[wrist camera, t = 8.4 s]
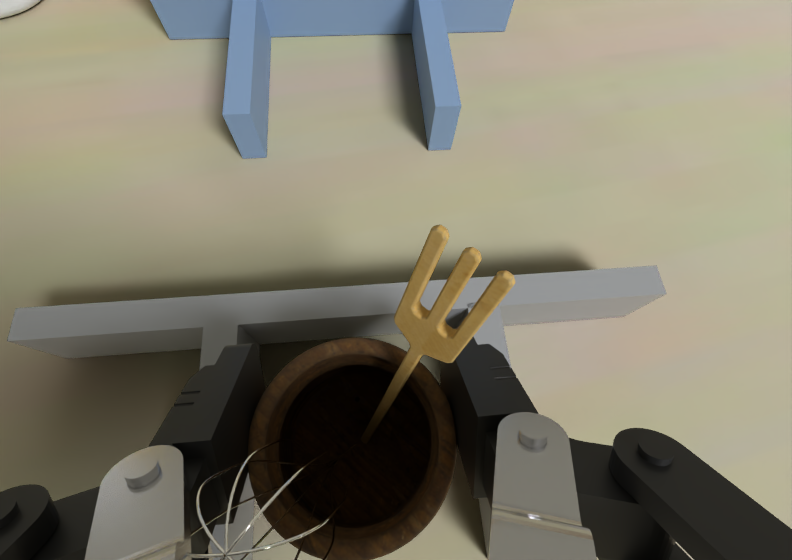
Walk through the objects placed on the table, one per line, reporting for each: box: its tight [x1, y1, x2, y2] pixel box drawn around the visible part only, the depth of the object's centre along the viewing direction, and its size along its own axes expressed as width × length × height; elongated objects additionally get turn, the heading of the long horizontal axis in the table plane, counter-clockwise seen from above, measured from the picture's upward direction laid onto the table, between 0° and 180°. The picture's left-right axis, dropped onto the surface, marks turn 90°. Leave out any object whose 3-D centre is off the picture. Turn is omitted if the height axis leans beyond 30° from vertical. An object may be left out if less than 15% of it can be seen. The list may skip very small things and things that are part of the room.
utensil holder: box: [187, 225, 515, 560], centre depth 11 cm, size 6×6×12 cm
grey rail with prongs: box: [7, 266, 666, 560], centre depth 15 cm, size 10×24×3 cm, turn 95°
